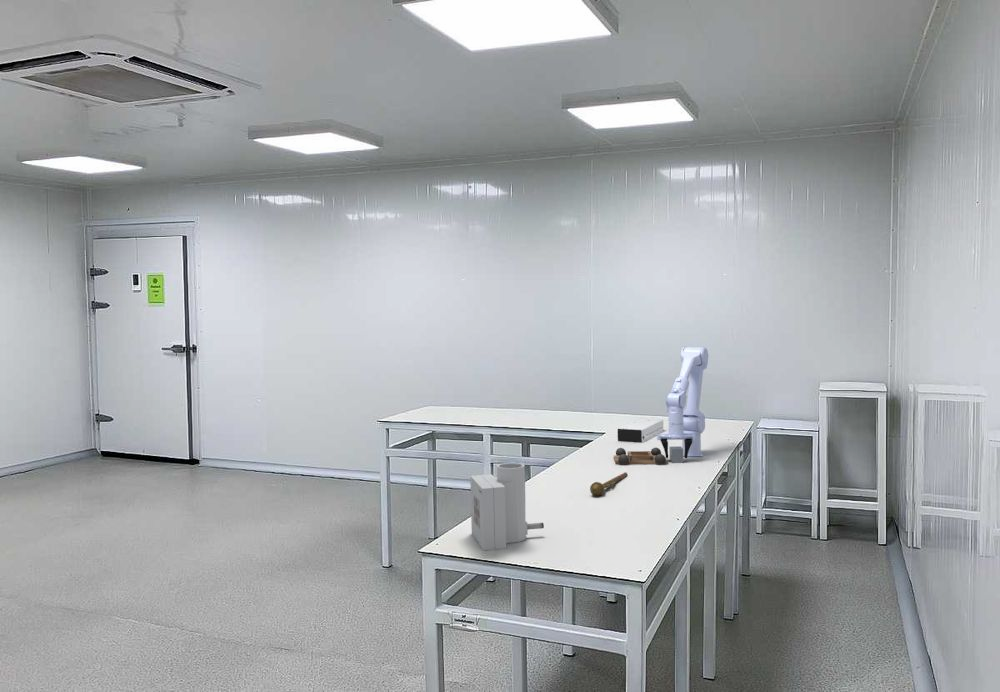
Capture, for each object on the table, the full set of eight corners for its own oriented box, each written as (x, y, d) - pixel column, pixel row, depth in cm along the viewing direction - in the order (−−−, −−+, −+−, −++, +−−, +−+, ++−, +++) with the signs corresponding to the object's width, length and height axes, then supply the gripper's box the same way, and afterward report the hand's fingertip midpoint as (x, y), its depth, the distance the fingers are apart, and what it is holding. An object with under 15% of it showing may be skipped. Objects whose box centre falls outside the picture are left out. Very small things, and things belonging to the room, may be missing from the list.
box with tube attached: (470, 533, 227) (469, 462, 226) (535, 528, 232) (533, 458, 230) (482, 550, 212) (481, 474, 210) (551, 544, 216) (550, 469, 215)
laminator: (640, 430, 399) (640, 418, 398) (665, 432, 393) (665, 419, 393) (617, 442, 369) (617, 428, 368) (644, 444, 363) (643, 430, 363)
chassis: (613, 457, 331) (613, 447, 331) (663, 457, 330) (663, 447, 329) (616, 465, 316) (615, 455, 316) (668, 464, 314) (668, 454, 314)
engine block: (669, 460, 324) (669, 446, 324) (681, 460, 324) (680, 446, 323) (671, 463, 318) (671, 449, 318) (683, 463, 318) (683, 449, 317)
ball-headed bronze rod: (618, 479, 298) (631, 482, 296) (586, 496, 266) (600, 499, 264) (619, 467, 298) (632, 469, 296) (587, 482, 266) (601, 484, 264)
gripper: (658, 425, 316) (658, 460, 317) (696, 424, 315) (696, 459, 316) (656, 422, 323) (656, 456, 324) (693, 422, 322) (693, 456, 323)
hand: (676, 457), depth 321 cm, fingers open, 7 cm apart
